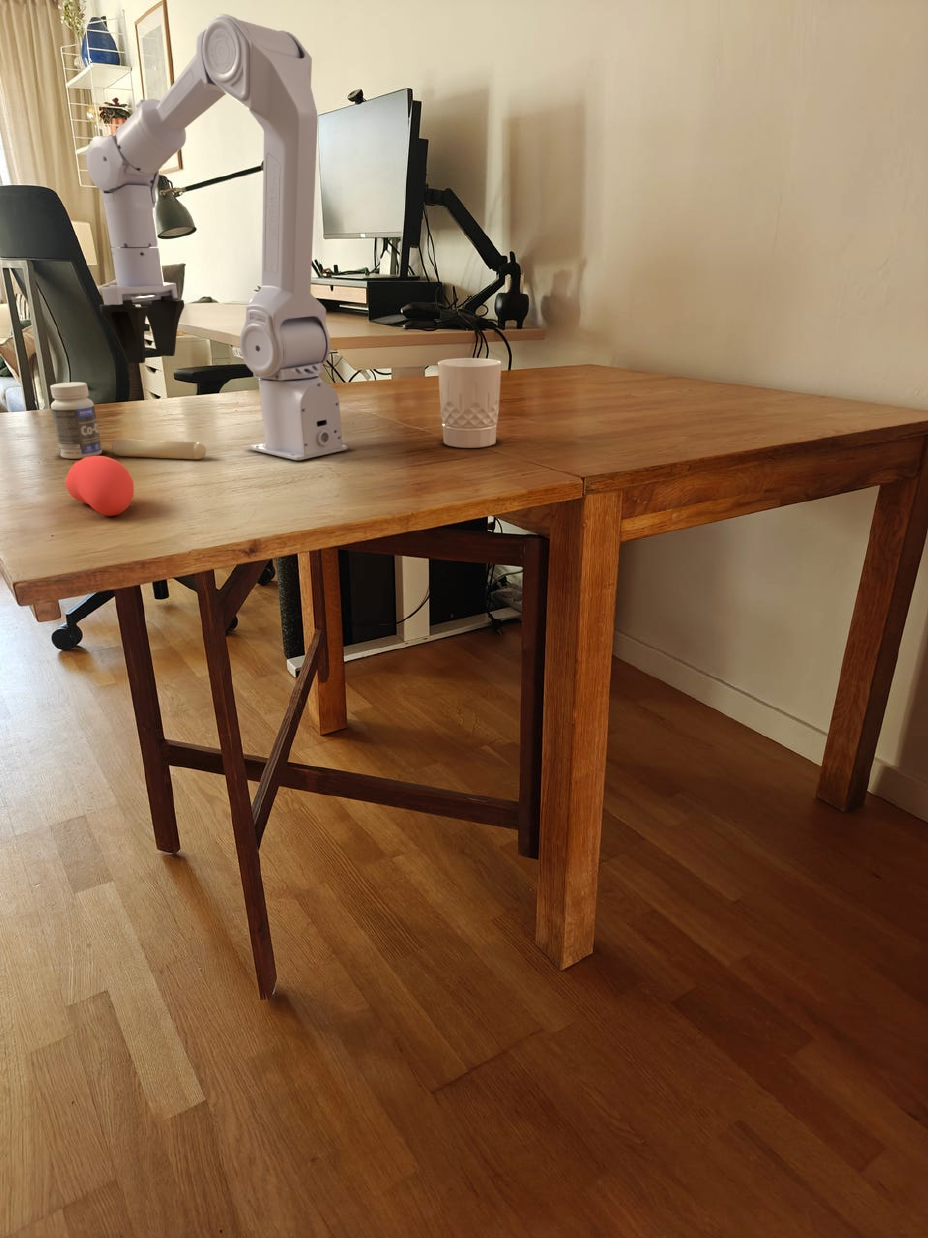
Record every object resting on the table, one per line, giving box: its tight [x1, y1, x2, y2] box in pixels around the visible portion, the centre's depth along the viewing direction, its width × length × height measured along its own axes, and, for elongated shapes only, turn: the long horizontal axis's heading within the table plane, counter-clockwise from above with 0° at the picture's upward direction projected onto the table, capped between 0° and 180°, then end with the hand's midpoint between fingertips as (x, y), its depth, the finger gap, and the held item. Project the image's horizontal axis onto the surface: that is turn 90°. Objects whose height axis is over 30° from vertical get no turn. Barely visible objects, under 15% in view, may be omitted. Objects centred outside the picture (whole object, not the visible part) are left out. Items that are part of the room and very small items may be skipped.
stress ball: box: [65, 455, 135, 517], centre depth 80 cm, size 5×9×6 cm
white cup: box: [437, 357, 502, 449], centre depth 105 cm, size 8×8×10 cm
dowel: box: [111, 438, 207, 460], centre depth 100 cm, size 12×2×2 cm, turn 79°
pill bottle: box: [49, 381, 103, 460], centre depth 100 cm, size 5×5×8 cm
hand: (151, 359), depth 111 cm, fingers open, 7 cm apart
